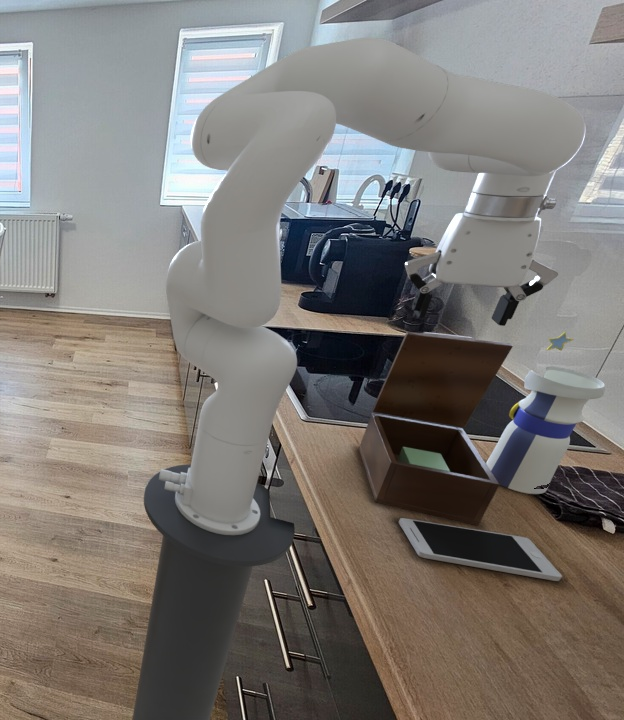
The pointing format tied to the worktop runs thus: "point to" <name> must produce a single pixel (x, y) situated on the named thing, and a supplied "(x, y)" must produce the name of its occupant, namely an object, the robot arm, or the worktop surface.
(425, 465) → the block
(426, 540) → the smartphone
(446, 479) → the chest
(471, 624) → the worktop surface
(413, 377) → the chest lid
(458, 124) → the robot arm
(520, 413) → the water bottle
